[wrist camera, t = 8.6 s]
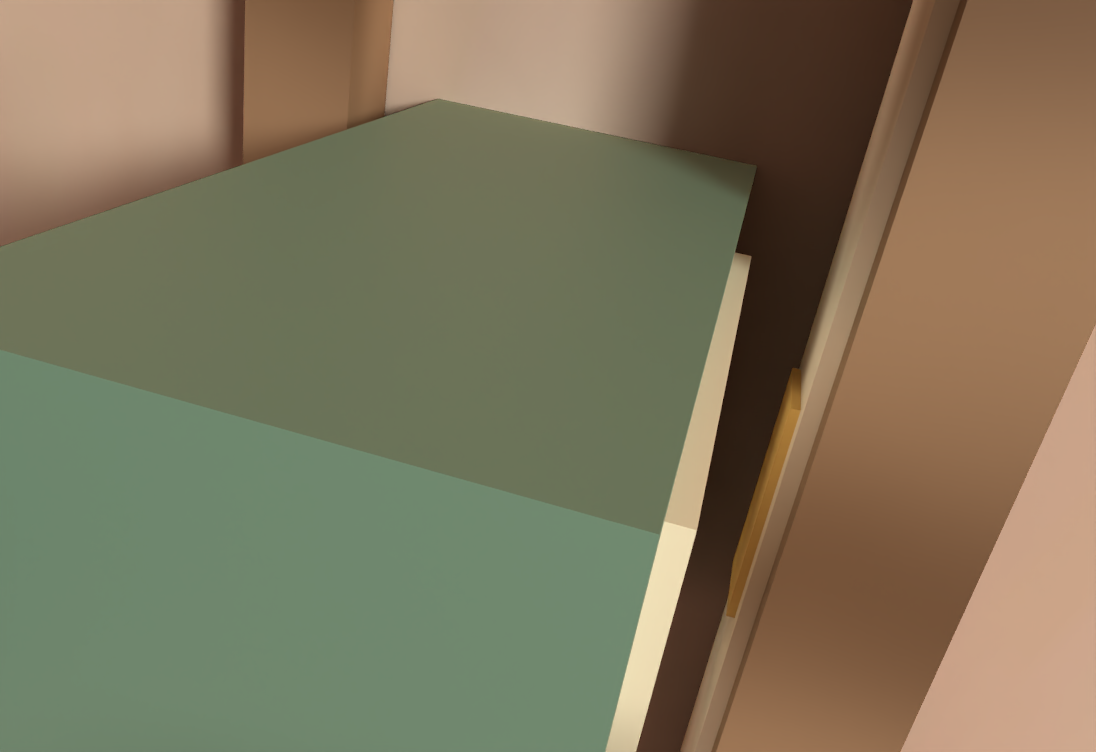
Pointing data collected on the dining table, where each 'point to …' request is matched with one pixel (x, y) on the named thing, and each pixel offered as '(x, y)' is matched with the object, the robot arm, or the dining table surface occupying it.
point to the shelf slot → (856, 352)
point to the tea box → (365, 443)
